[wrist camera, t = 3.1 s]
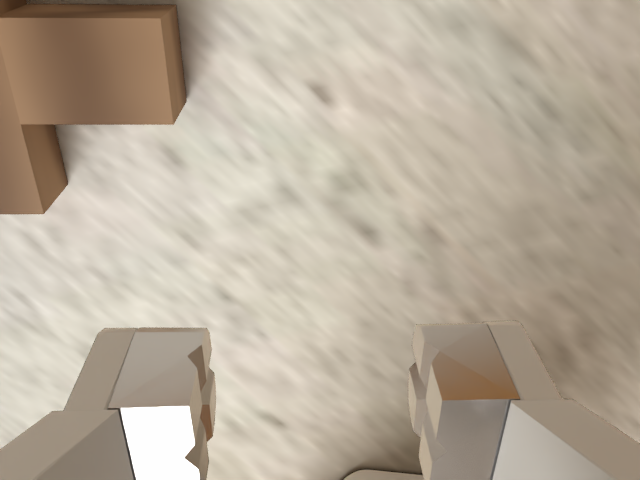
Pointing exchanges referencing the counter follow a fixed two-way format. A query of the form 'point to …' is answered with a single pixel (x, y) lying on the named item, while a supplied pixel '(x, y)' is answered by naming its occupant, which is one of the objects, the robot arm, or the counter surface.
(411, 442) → the counter surface
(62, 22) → the t block
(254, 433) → the counter surface
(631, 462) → the robot arm
